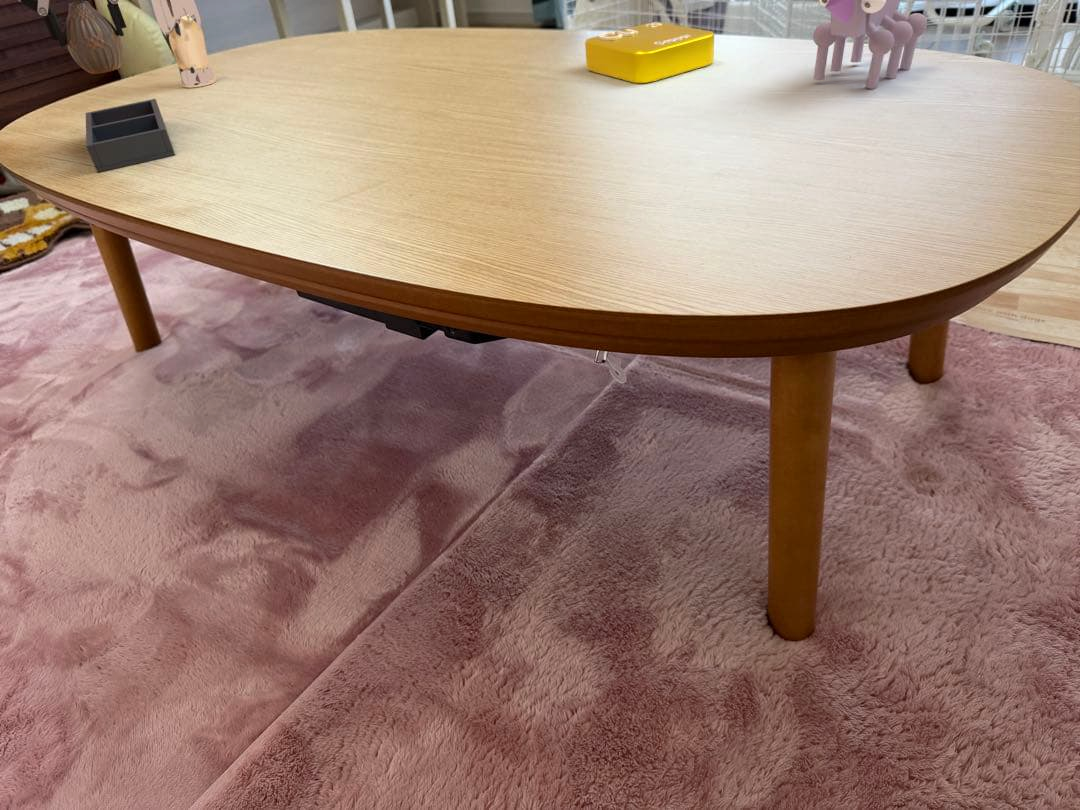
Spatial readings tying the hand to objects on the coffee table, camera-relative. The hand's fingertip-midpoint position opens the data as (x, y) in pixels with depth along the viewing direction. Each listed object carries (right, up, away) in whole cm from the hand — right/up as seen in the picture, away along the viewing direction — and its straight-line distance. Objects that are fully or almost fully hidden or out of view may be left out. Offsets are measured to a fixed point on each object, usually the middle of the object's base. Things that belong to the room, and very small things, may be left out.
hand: (92, 38), depth 112 cm
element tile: (+79, +1, +12) cm, 80 cm away
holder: (+3, -13, +5) cm, 15 cm away
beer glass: (+1, +7, +33) cm, 33 cm away
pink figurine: (+104, -8, -5) cm, 104 cm away
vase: (0, -3, +3) cm, 4 cm away
